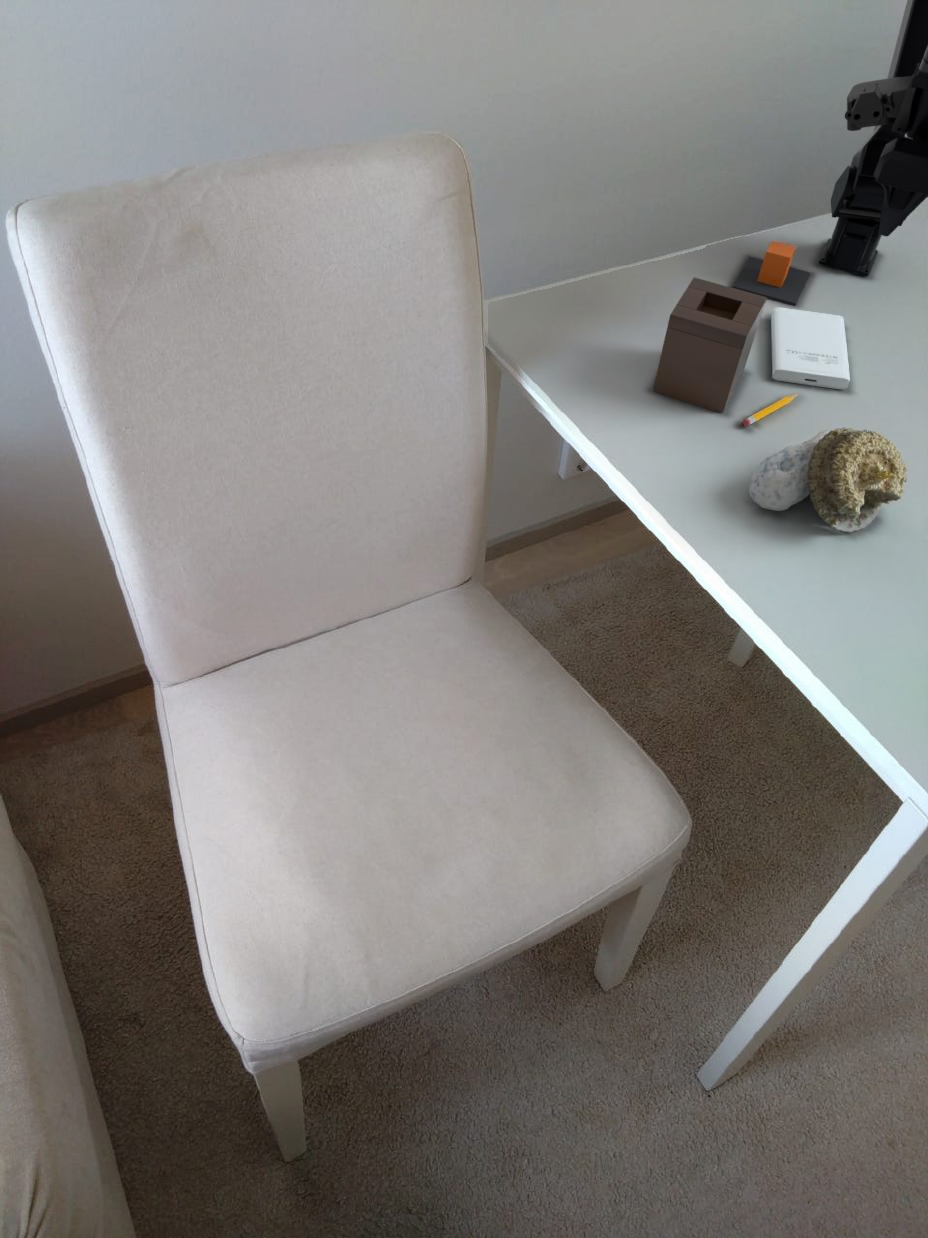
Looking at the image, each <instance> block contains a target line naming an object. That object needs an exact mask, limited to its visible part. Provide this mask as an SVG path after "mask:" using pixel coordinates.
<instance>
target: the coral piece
mask: <svg viewBox="0 0 928 1238" xmlns="http://www.w3.org/2000/svg"><path fill="white" fill-rule="evenodd" d="M833 430H834V431H830V432H829V433H828V434H825V435H824V437H823V438H822V439H820V440H819V442H818V444H817V445H816V446H815V447H814V449H813V452H812V454H811V458H810V461H809V463H808V466H809V467H808V472H807V473H808V478H807V481H808V482H807V484H808V491H809V498H810V501H811V502H812V505H813V509H814V510H815V512H816V513H817V516H818V517H819V518H821V521H823V522H824V523H826V524H827V525H828V527H831V528H833V529H835V530H836V531H840V532H842V533H853V532H858V531H860V530H863V529H865V528H867V526H869V525H870V524H871V523H872V522H873V521H874V520H875V519H876V517H877V515H878V514H879V512H880V509H881V508H882V506H883V504H890V502H893V501H895V502H897V501H898V500H901V499H902V494H903V493H904V492H905V483H906V482H908V479H907V478H908V475H907V474H905V473H906V472H907V466H906V465H907V463H906V462H904V461H903V457H902V456H903V454H902V453H901V452H900V451H899V450H898V447H897V446H895V445H894V443H893V441H892V440H889V439H888V438H887V437H886V436H884V435H882V434H879V433H878V432H876V431H874V430H867V429H862V430H858V429H857V430H856V429H853V428H851V427H849V428H847V427H841V428H838V427H837V428H836V429H833Z"/></svg>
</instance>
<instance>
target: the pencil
mask: <svg viewBox="0 0 928 1238" xmlns="http://www.w3.org/2000/svg"><path fill="white" fill-rule="evenodd" d="M797 396H798V393H796V394H791V395H787V396H785V397H783V398H781V399H780V400H778V401H776V402H774V403H773V404H770V405H769V406H767V407H765V408H763V409H762V410H759V411H758V412H756V413H754V414H752V415H751V416H749V417H747V418H745V419H744V420H742V425H743V426H744V427H747V428H748V426H751V425H752V424H753V423H756V422H757V421H759V420H761V419H763V418H764V417H766V416H768V415H770V414H771V413H774V412H776V411H777V410H778V409H781V408H782V407H784V406H786V405H788V404H790V403H791V402H792V401H793V400H794V399H795V398H796V397H797Z"/></svg>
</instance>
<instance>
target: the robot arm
mask: <svg viewBox="0 0 928 1238" xmlns="http://www.w3.org/2000/svg"><path fill="white" fill-rule="evenodd" d="M844 119H845V120H846V129H847V131H850V132H855V131H861V129H864V128H870V127H874V129H873V131H872V133H871V134H870V135H869V137H868V138H867V139H866V140H865V141H864V143H862V145H861V146H860V147H859V148H858V150H857V151H856V152H855V153H854V154H853V156H852V159H851V163H850V165H847V166H846V168H845V169H844V170H843V172H842V173H841V174H840V176H839V177H838V179H837V180H836V181H835V183H834V187H833V190H832V194H831V198H830V211H831V218H835V219H836V218H837V221H836V224H835V226H834V229H833V232H832V235H831V237H830V238H828V239H827V241H826V244H825V246H824V248H823V250H822V252H821V254H820V256H819V258H818V260H817V263H818V264H819V265H821V266H825V267H828V268H833V269H837V270H840V271H844V272H847V273H852V274H855V275H859V276H863V277H869V276H870V275H871V272H872V269H873V266H874V264H875V262H876V259H877V256H878V254H879V251H878V250H877V248H878V245H879V243H880V240H881V238H882V237H883V236H884V237H889V236H890V235H891V234H893V232H894V231H896V229H897V228H898V227H902V226H903V224H904V222H905V221H906V220H907V218H908V217H909V216H910V215H911V214H912V213H913V212H914V211H915V210H916V209H917V208H918V207H919V206H920V205H921V204H922V203H923V202H924V201H925V200H926V199H927V198H928V0H906V4H905V8H904V12H903V16H902V20H901V24H900V28H899V31H898V35H897V39H896V43H895V46H894V51H893V55H892V58H891V62H890V66H889V71H888V74H887V78H881V79H876V80H870V81H864V82H860V83H857V84H854V85H853V86H852V88H851V90H849V93H848V94H847V97H846V111H845V112H844Z"/></svg>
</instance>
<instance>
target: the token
mask: <svg viewBox="0 0 928 1238" xmlns="http://www.w3.org/2000/svg"><path fill="white" fill-rule="evenodd" d="M796 249H797V246H795V245H792V244H786V243H784V242H780V241H775V240H771V242H770V243H769V246H768V248H767V250H766V251H765V255H764V258H763V260H764V261H763V264H762V267H761V271H760V274H759V277H758V280H757V281H758V282H761V283H765V284H769V285H772V286H776V287H780V288H781V286H782V284H783V282H784V280H785V278H786V276H787V274H788V271H789V268H790V267H791V264H792V261H793V259H794V255H795V252H796Z"/></svg>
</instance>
